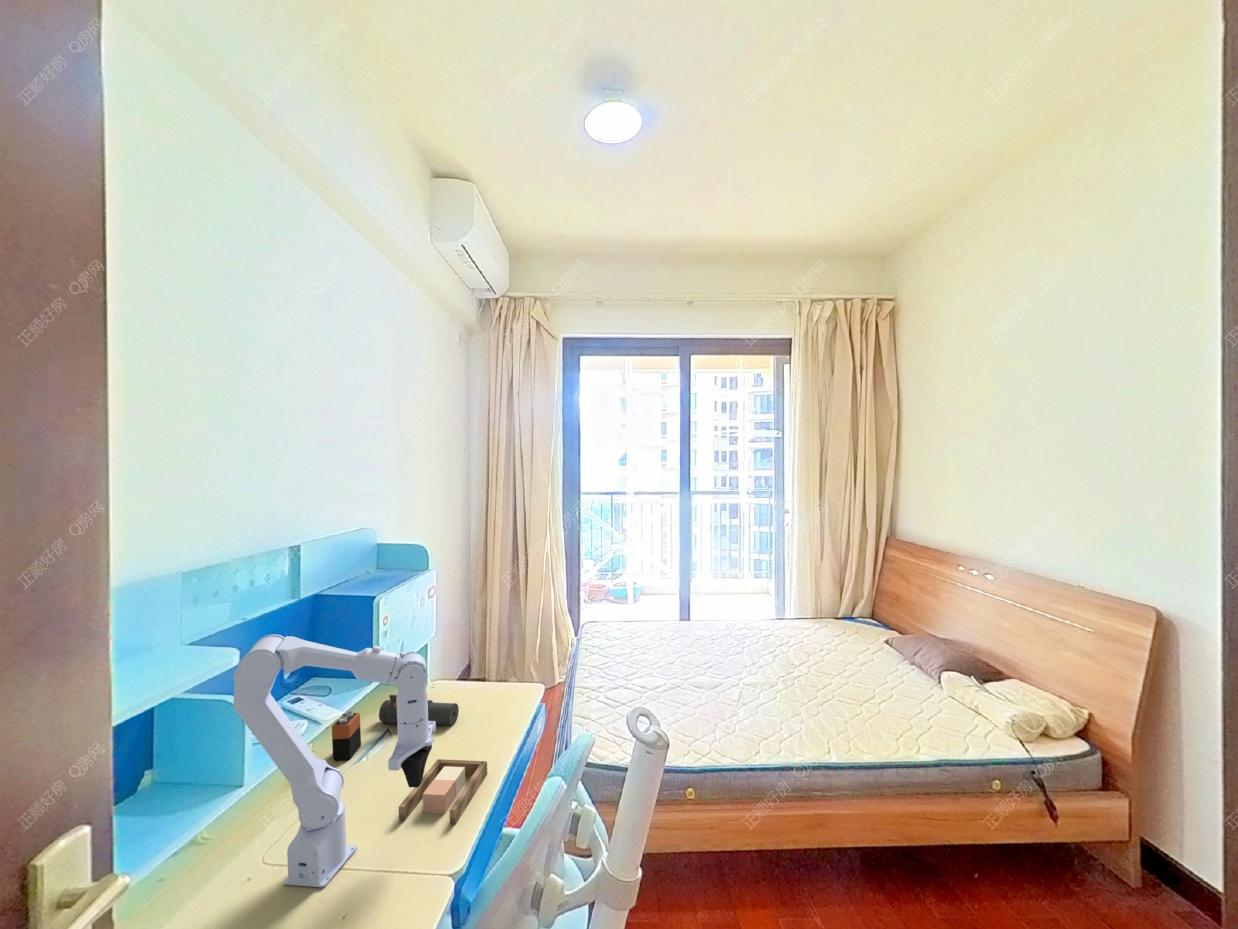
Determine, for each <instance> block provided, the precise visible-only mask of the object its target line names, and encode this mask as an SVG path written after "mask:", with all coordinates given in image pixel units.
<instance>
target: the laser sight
mask: <svg viewBox="0 0 1238 929" xmlns="http://www.w3.org/2000/svg"><path fill="white" fill-rule="evenodd" d="M397 695H398V694H389V695H388V698H389V699H386V700H385V701H383V702H382V703H381V704H380V707H379V711H378V718H379V721H380V722H381V723H388V724H389V725H390V724H391V725H397V700H396V698H397ZM432 700H433V699H428V721H436V725H444V726H445V725H446V726H450V725H451V726H454V725H455V724H456V722H457V721H458V718H459V709H460V708H459V705H458V703H456V702H455V703H452V702H434V701H432Z"/></svg>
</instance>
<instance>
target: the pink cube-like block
mask: <svg viewBox="0 0 1238 929" xmlns="http://www.w3.org/2000/svg"><path fill="white" fill-rule="evenodd" d="M456 799H457V797H456V790H455V781H453V780H433V781H432V783H431V784H430V785H429V786H428V788H427V789H426V790H425V792H424V793H423V798H422V811H423V813H435V814H436V813H437V814H438V813H439V814H446V813H447V812H448V811H449V810H450V808H451V807H452V805H453V804H454V802H455V801H456Z"/></svg>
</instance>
